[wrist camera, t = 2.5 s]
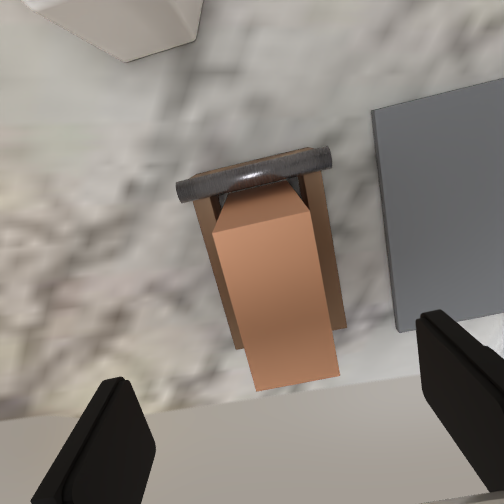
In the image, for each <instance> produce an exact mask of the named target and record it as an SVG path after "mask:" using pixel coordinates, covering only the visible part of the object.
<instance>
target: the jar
mask: <svg viewBox="0 0 504 504" xmlns="http://www.w3.org/2000/svg"><path fill="white" fill-rule="evenodd" d="M21 1H22V2H23V3H24V4H25V5H26V6H27V7H28V8H29V9H30V10H32V11H33V12H35V13H37V14H39V15H40V16H42V17H44V18H46V19H47V20H49V21H51V22H53V23H55V24H56V25H58V26H60V27H62V28H63V29H65V30H67V31H69V32H71V33H72V34H74V35H76V36H78V37H79V38H81V39H83V40H85V41H86V42H88V43H90V44H92V45H94V46H95V47H97V48H99V49H101V50H102V51H104V52H106V53H108V54H110V55H111V56H113V57H115V58H117V59H118V60H120V61H122V62H129V61H132V60H135V59H139V58H142V57H145V56H148V55H151V54H154V53H158V52H161V51H164V50H167V49H170V48H174V47H177V46H180V45H183V44H186V43H190V42H193V41H195V39H196V37H197V31H198V26H199V20H200V15H201V9H202V4H203V0H21Z"/></svg>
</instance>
